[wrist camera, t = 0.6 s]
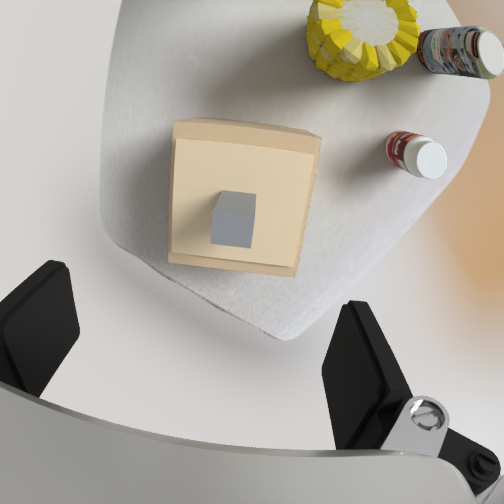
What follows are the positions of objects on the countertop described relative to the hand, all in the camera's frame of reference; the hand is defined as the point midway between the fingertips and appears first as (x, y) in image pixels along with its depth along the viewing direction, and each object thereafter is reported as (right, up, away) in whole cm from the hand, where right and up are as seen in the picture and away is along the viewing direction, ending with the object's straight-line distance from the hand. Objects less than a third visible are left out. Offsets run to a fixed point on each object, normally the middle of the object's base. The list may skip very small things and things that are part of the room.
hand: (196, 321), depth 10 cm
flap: (+1, +7, +19) cm, 20 cm away
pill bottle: (+21, +15, +25) cm, 36 cm away
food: (+12, +26, +20) cm, 35 cm away
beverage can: (+25, +27, +19) cm, 42 cm away
